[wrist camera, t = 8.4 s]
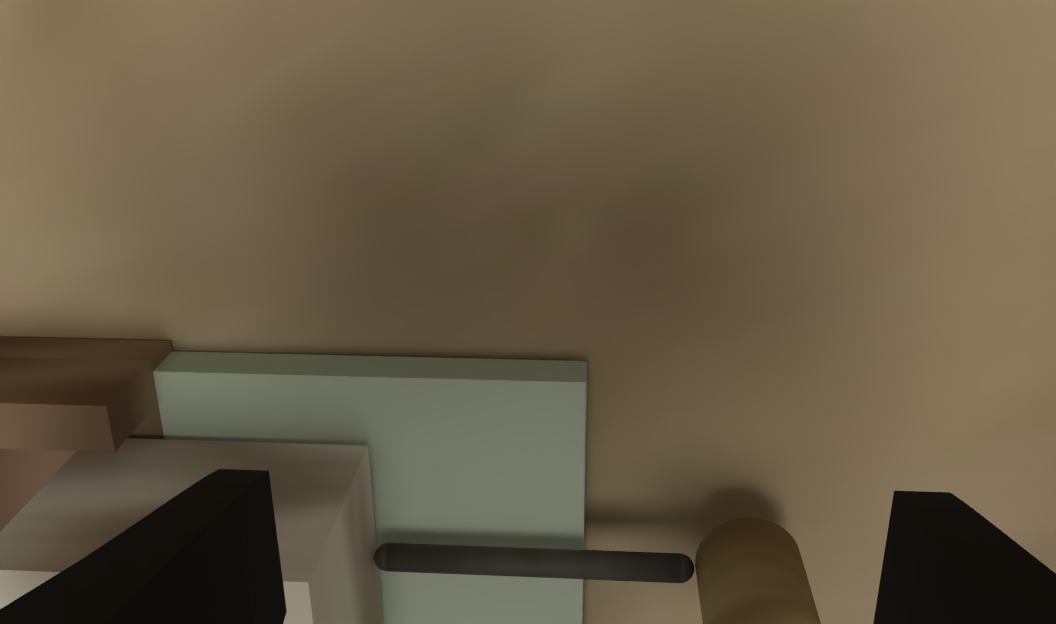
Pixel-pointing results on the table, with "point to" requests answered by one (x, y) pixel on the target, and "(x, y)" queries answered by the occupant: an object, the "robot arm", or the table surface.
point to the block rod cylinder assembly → (367, 535)
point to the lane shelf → (70, 406)
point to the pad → (420, 458)
